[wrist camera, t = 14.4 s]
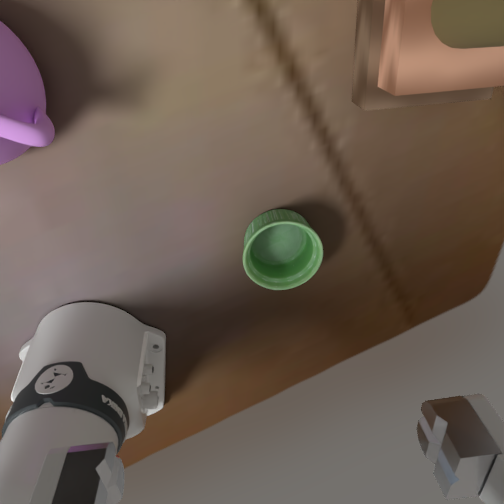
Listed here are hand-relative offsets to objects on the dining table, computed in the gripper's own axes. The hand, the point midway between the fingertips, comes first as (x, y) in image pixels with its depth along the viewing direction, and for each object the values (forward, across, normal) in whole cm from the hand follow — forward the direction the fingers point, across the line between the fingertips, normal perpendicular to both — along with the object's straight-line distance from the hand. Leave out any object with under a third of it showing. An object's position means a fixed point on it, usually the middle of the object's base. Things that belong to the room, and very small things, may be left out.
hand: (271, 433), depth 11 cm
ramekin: (+36, +5, -15) cm, 39 cm away
